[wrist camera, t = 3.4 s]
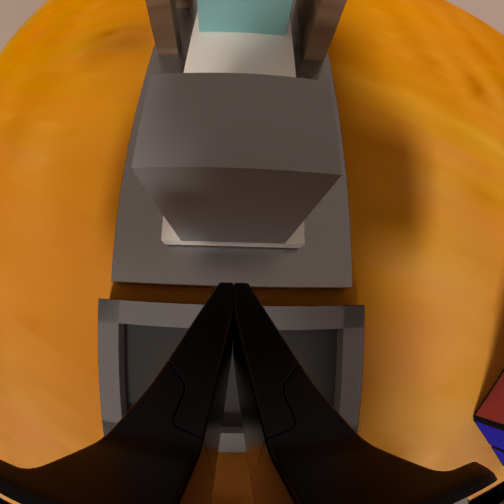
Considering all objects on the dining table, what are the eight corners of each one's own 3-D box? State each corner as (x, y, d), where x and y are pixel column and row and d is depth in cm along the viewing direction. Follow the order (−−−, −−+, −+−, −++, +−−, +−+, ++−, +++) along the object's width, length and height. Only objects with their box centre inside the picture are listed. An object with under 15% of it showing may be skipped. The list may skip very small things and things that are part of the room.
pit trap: (347, 434, 16) (356, 442, 14) (113, 430, 15) (104, 438, 13) (353, 305, 17) (364, 304, 16) (108, 299, 16) (98, 298, 15)
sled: (300, 248, 16) (378, 179, 7) (165, 244, 16) (94, 169, 7) (285, 5, 20) (303, -80, 11) (202, 1, 19) (199, -85, 10)
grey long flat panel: (345, 288, 17) (352, 287, 16) (117, 282, 16) (111, 280, 16) (305, -25, 23) (307, -32, 22) (187, -31, 22) (186, -37, 21)
